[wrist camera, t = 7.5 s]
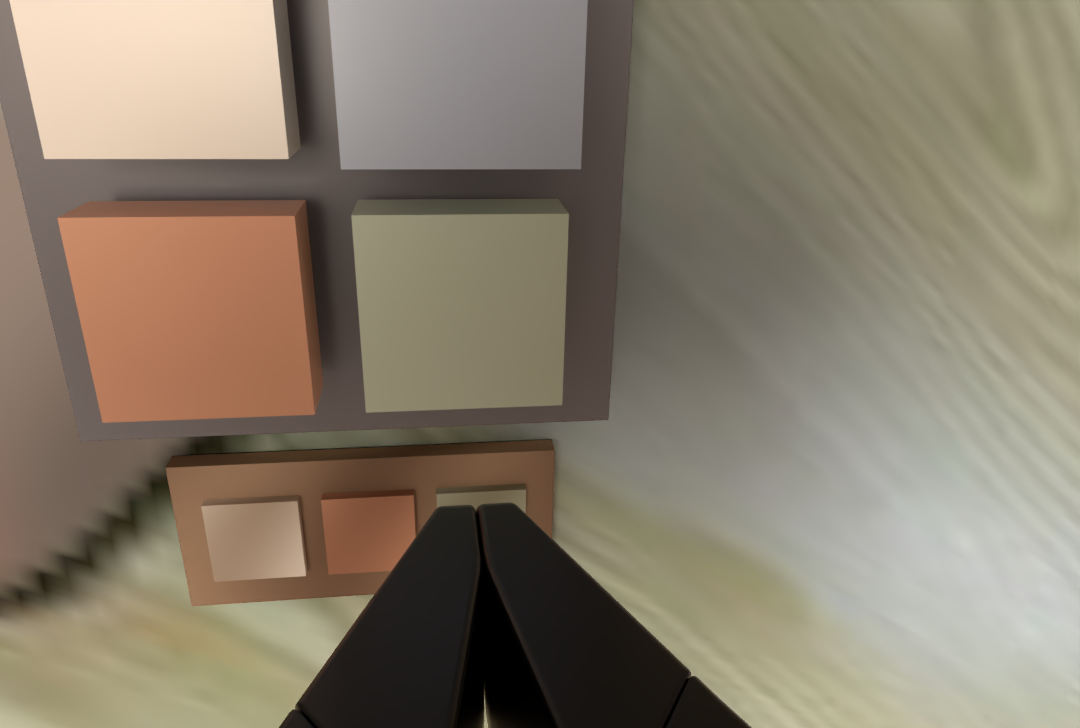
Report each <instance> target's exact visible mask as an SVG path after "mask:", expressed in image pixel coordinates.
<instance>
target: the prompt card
mask: <svg viewBox="0 0 1080 728" xmlns="http://www.w3.org/2000/svg"><path fill="white" fill-rule="evenodd" d="M554 456H555V450H554V446H553V443H552V440H532V441H509V442H485V443H462V444H439V445H416V446H393V447H370V448H347V449H324V450H301V451H278V452H255V453H232V454H209V455H186V456H172V458H171V459H170V461H169V463H168V464H167V466H166V473H167V478H168V484H169V489H170V494H171V499H172V505H173V510H174V515H175V520H176V526H177V531H178V536H179V541H180V546H181V552H182V557H183V562H184V567H185V573H186V578H187V583H188V588H189V594H190V599H191V604H192V606H201V605H217V604H232V603H247V602H262V601H277V600H292V599H308V598H323V597H338V596H353V595H368V594H375V593H376V592H377V590H378V589H379V588H380V586H381V585H382V583H383V582H384V581H385V579H386V578H387V576H388V575H389V574H390V572H391V571H392V569H393V568H394V567H395V565H396V564H397V562H398V561H399V560H400V558H401V557H402V555H403V554H404V553H405V551H406V550H407V548H408V547H409V546H410V544H411V543H412V541H413V540H414V539H415V537H416V536H417V534H418V533H419V532H420V530H421V529H422V527H423V526H424V525H425V523H426V522H427V520H428V519H429V518H430V516H431V515H432V513H433V512H434V511H435V509H436V508H438V507H440V506H452V505H472V506H473V507H474V508H475V509H476V510H477V507H478V506H479V505H481V504H489V503H506V502H511V503H514V504H516V505H517V506H518V507H519V508H520V509H521V510H522V511H523V512H524V513H526V514H527V515H528V516H529V517H530V518H531V519H532V520H533V521H534V522H535V523H536V524H537V525H538V526H539V527H540V528H541V529H542V530H543V531H544V532H545V533H546V534H547V535H549V536H550V537H551V538H552V520H553V488H554Z"/></svg>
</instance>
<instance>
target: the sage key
mask: <svg viewBox="0 0 1080 728" xmlns="http://www.w3.org/2000/svg"><path fill="white" fill-rule="evenodd" d="M351 218H352V231H353V245H354V258H355V272H356V285H357V299H358V312H359V326H360V340H361V353H362V367H363V380H364V394H365V407H366V413H371V412H397V411H423V410H450V409H476V408H502V407H528V406H555V405H562V399H563V370H564V341H565V312H566V284H567V255H568V226H569V213H568V212H567V210H566V209H565V208H564V206H563V205H562V203H561V202H560V201H559V199H393V200H357V203H356V205H355V208H354V210H353V213H352V215H351Z"/></svg>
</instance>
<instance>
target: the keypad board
mask: <svg viewBox="0 0 1080 728" xmlns="http://www.w3.org/2000/svg"><path fill="white" fill-rule="evenodd" d="M633 4H634V0H588V5H587V30H586V55H585V80H584V105H583V130H582V155H581V169H341V163H340V151H339V138H338V125H337V112H336V99H335V86H334V73H333V60H332V47H331V34H330V21H329V8H328V0H287V10H288V21H289V31H290V41H291V52H292V62H293V73H294V83H295V94H296V104H297V114H298V125H299V135H300V146H301V148H300V149H299V150H298V151H297V152H296V153H295V154H294V155H293V156H292V157H290V158H289V159H44V155H43V150H42V146H41V141H40V137H39V132H38V128H37V123H36V119H35V114H34V110H33V105H32V101H31V96H30V92H29V87H28V82H27V78H26V73H25V69H24V64H23V60H22V55H21V51H20V46H19V42H18V37H17V33H16V28H15V24H14V19H13V15H12V10H11V6H10V1H9V0H0V102H1V106H2V110H3V115H4V119H5V123H6V127H7V132H8V136H9V140H10V144H11V149H12V152H13V157H14V161H15V166H16V170H17V174H18V178H19V182H20V187H21V191H22V195H23V199H24V203H25V208H26V212H27V216H28V220H29V225H30V229H31V233H32V237H33V242H34V246H35V250H36V255H37V259H38V263H39V267H40V272H41V275H42V279H43V284H44V288H45V293H46V297H47V301H48V305H49V310H50V314H51V318H52V322H53V326H54V331H55V335H56V339H57V343H58V348H59V352H60V356H61V360H62V365H63V369H64V373H65V378H66V382H67V386H68V390H69V395H70V399H71V403H72V407H73V411H74V415H75V420H76V424H77V428H78V433H79V437H80V441H100V440H122V439H149V438H174V437H198V436H223V435H248V434H272V433H297V432H321V431H346V430H371V429H395V428H420V427H444V426H469V425H494V424H518V423H543V422H567V421H592V420H608V416H609V400H610V383H611V367H612V350H613V334H614V317H615V301H616V284H617V268H618V251H619V235H620V218H621V202H622V185H623V169H624V152H625V136H626V119H627V103H628V86H629V70H630V54H631V37H632V21H633ZM393 199H559V201H560V202H561V203H562V205H563V206H564V208H565V209H566V210H567V212H568V213H569V226H568V255H567V284H566V312H565V341H564V370H563V399H562V405H555V406H528V407H502V408H476V409H450V410H423V411H397V412H371V413H366V407H365V394H364V380H363V367H362V353H361V340H360V326H359V312H358V299H357V285H356V272H355V258H354V245H353V231H352V218H351V215H352V213H353V210H354V208H355V205H356V203H357V200H393ZM218 200H306V209H307V219H308V230H309V240H310V250H311V261H312V271H313V282H314V292H315V302H316V313H317V323H318V334H319V344H320V355H321V365H322V375H323V389H322V392H321V396H320V399H319V402H318V406H317V409H316V413H315V415H294V416H268V417H242V418H216V419H189V420H163V421H137V422H111V423H102V418H101V413H100V409H99V404H98V400H97V395H96V391H95V386H94V382H93V377H92V373H91V368H90V364H89V359H88V355H87V350H86V346H85V341H84V337H83V332H82V328H81V323H80V318H79V314H78V309H77V305H76V300H75V296H74V291H73V287H72V282H71V278H70V273H69V269H68V264H67V260H66V255H65V251H64V246H63V242H62V237H61V233H60V228H59V224H58V219H57V218H58V217H60V216H62V215H64V214H65V213H67V212H69V211H71V210H73V209H75V208H77V207H79V206H81V205H83V204H84V203H86V202H88V201H218Z"/></svg>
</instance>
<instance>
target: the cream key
mask: <svg viewBox="0 0 1080 728" xmlns="http://www.w3.org/2000/svg"><path fill="white" fill-rule="evenodd" d="M9 1H10V6H11V10H12V15H13V19H14V24H15V28H16V33H17V37H18V42H19V46H20V51H21V55H22V60H23V64H24V69H25V73H26V78H27V82H28V87H29V92H30V96H31V101H32V105H33V110H34V114H35V119H36V123H37V128H38V132H39V137H40V141H41V146H42V150H43V155H44V159H289V158H290V157H292V156H293V155H294V154H295V153H296V152H297V151H298V150H299V149H300V148H301V146H300V135H299V125H298V114H297V104H296V94H295V83H294V73H293V62H292V52H291V41H290V31H289V21H288V10H287V0H9Z"/></svg>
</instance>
